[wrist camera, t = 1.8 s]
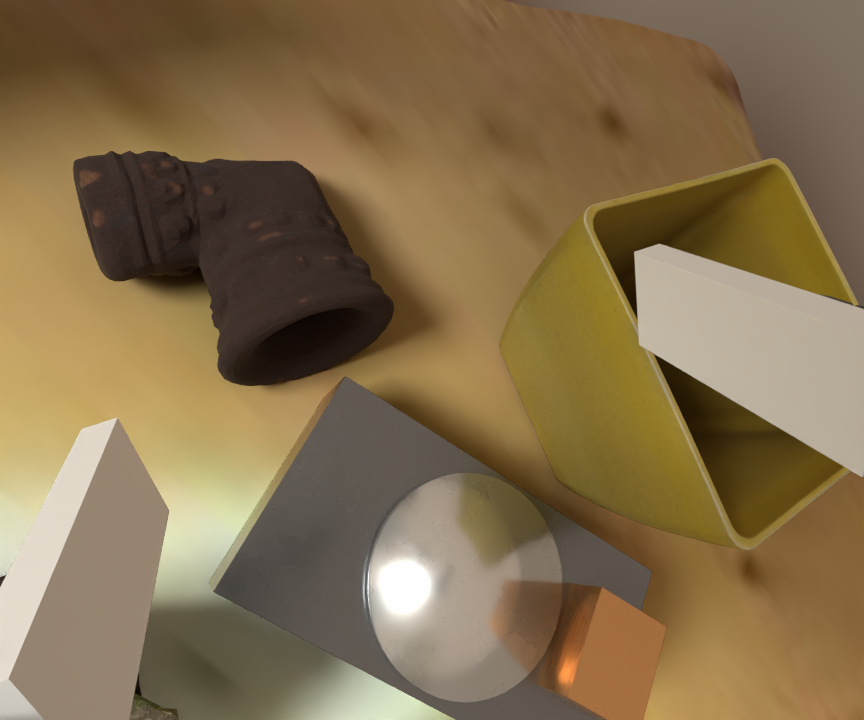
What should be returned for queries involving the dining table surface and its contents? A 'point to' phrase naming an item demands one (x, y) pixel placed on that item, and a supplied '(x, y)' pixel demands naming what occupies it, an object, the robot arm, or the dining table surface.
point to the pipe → (238, 255)
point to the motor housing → (442, 575)
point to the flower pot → (658, 379)
